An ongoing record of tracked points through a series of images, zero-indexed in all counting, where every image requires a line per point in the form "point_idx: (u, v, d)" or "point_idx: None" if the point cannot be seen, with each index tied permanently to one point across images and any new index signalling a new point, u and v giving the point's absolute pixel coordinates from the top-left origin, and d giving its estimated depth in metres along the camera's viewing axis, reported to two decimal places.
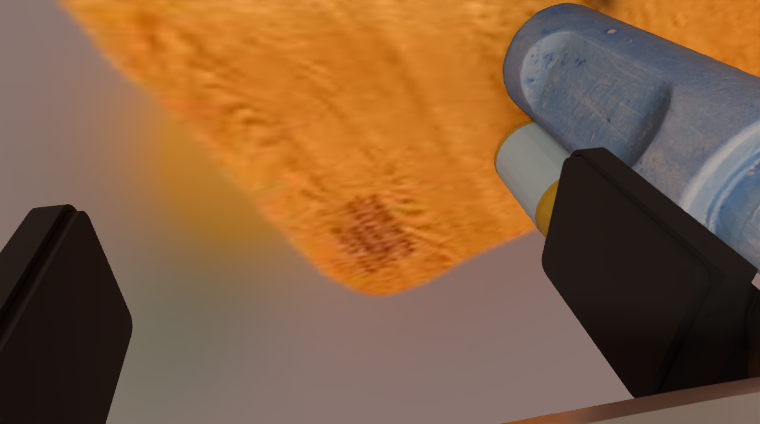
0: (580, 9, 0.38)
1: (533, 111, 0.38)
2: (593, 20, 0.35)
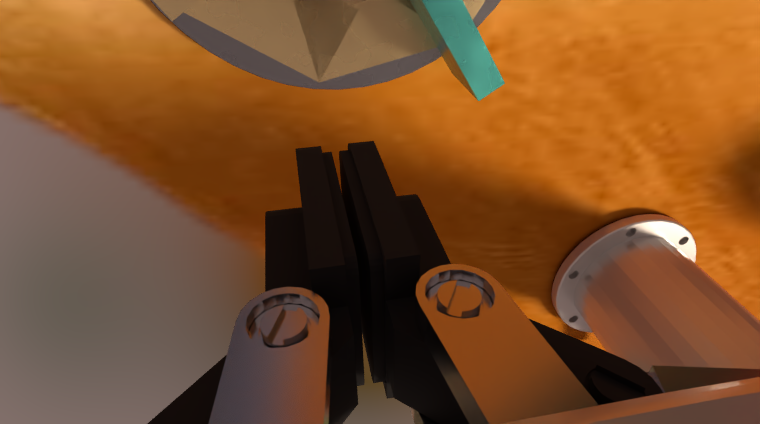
0: None
1: None
2: None
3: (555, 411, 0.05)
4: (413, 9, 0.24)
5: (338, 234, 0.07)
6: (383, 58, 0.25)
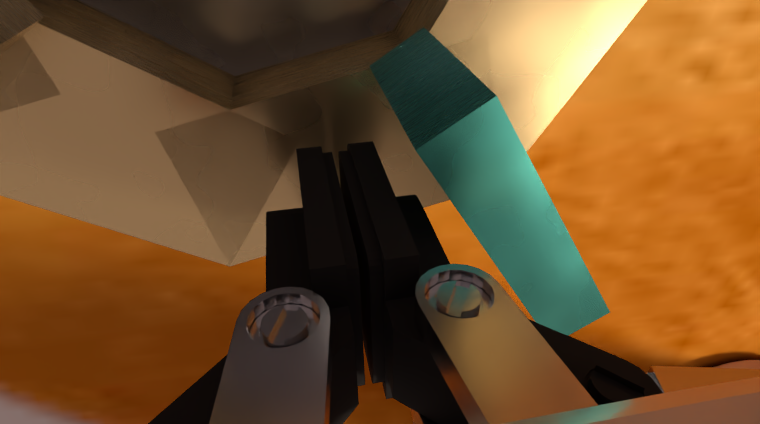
0: None
1: None
2: None
3: (554, 412, 0.05)
4: None
5: (339, 234, 0.07)
6: None
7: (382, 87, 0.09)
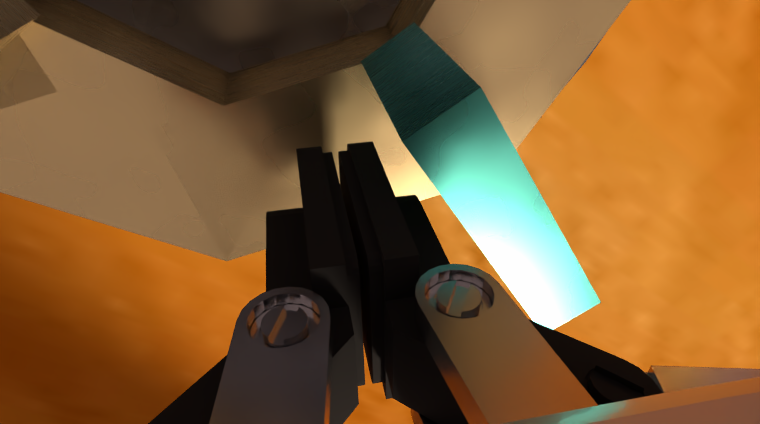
0: None
1: None
2: None
3: (554, 412, 0.05)
4: None
5: (339, 234, 0.07)
6: None
7: (372, 81, 0.10)
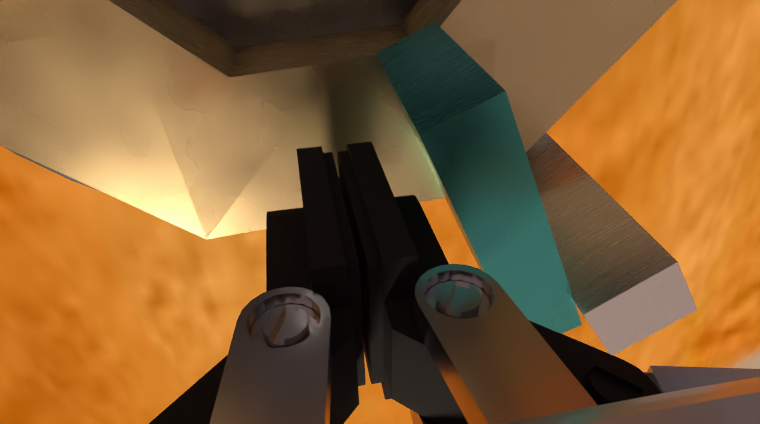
0: None
1: None
2: None
3: (553, 412, 0.05)
4: (409, 130, 0.12)
5: (339, 234, 0.07)
6: None
7: (388, 74, 0.09)
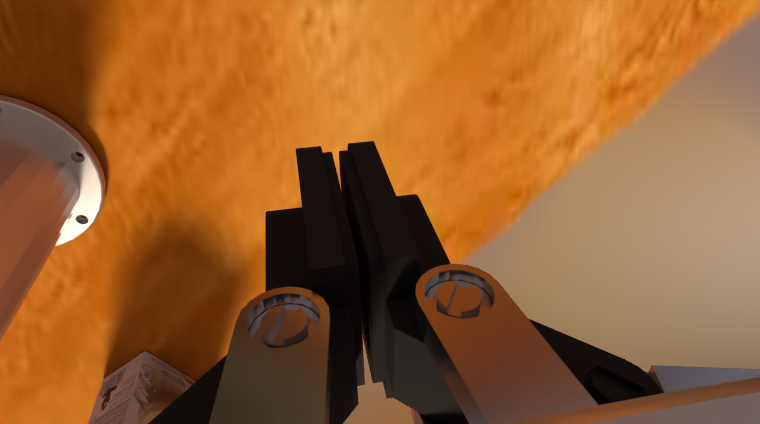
0: None
1: None
2: None
3: (555, 411, 0.05)
4: None
5: (338, 234, 0.07)
6: None
7: None
